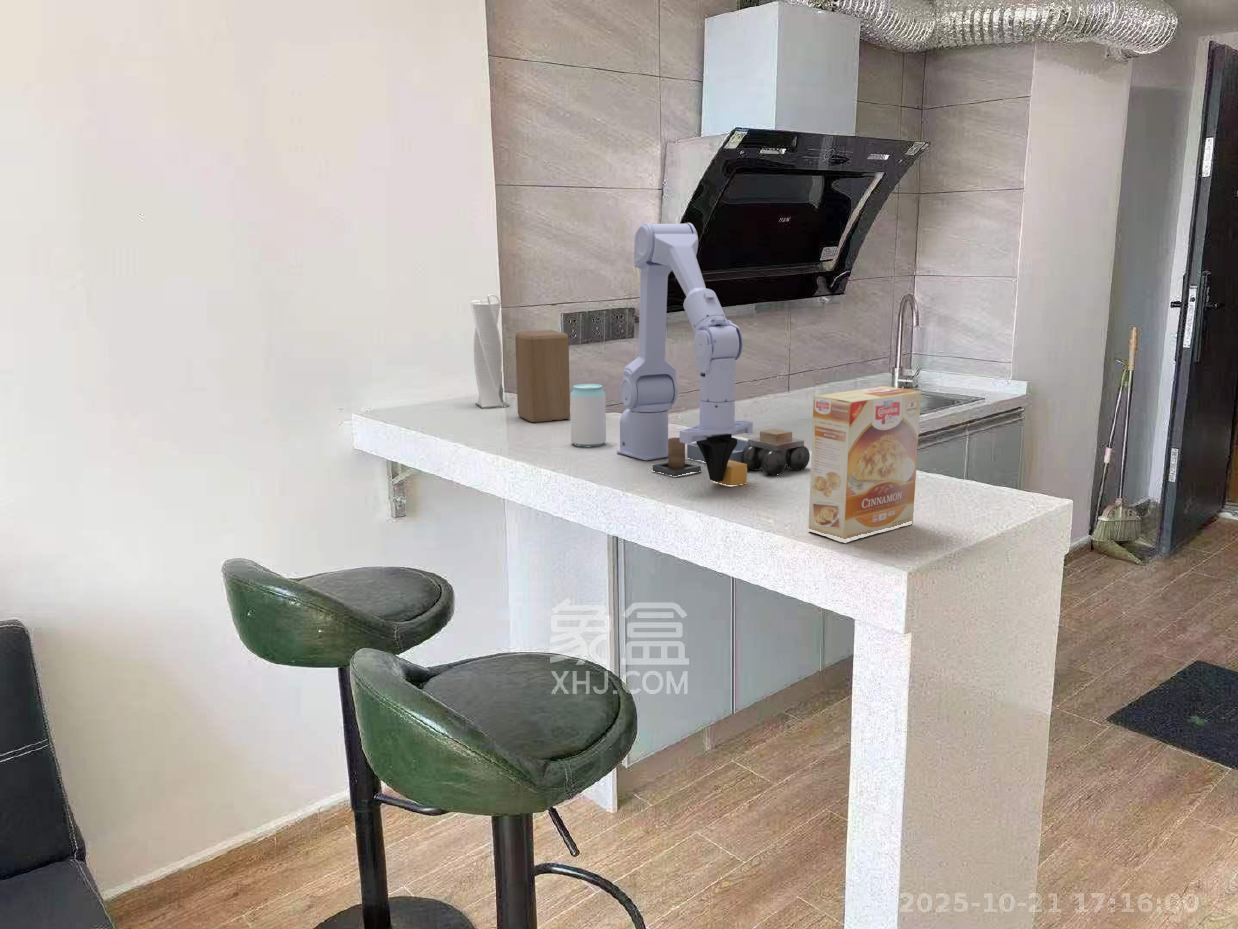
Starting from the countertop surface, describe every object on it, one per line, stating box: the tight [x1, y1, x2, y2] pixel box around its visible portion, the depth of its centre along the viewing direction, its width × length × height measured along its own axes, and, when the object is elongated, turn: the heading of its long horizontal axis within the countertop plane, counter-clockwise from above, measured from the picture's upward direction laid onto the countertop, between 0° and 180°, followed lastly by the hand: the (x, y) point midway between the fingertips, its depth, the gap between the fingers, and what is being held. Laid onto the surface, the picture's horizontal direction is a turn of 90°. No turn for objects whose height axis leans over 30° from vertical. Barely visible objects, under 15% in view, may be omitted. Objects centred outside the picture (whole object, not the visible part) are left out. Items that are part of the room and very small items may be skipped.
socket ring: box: [651, 461, 702, 476], centre depth 172 cm, size 6×6×1 cm
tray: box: [686, 436, 766, 463], centre depth 181 cm, size 11×11×3 cm
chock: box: [715, 460, 748, 485], centre depth 164 cm, size 4×4×4 cm
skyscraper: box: [470, 293, 511, 409], centre depth 241 cm, size 8×8×28 cm
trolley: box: [741, 428, 811, 476], centre depth 173 cm, size 7×10×7 cm
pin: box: [667, 437, 686, 470], centre depth 172 cm, size 3×3×6 cm
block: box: [514, 329, 571, 423], centre depth 224 cm, size 10×10×20 cm
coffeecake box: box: [807, 385, 922, 539], centre depth 136 cm, size 15×7×20 cm, turn 126°
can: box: [570, 383, 607, 447], centre depth 196 cm, size 7×7×12 cm
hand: (716, 480), depth 162 cm, fingers closed
